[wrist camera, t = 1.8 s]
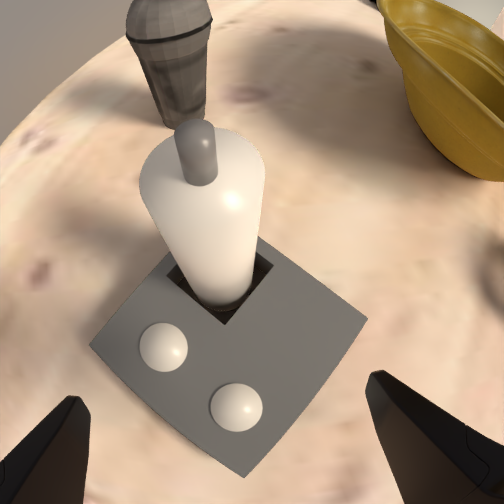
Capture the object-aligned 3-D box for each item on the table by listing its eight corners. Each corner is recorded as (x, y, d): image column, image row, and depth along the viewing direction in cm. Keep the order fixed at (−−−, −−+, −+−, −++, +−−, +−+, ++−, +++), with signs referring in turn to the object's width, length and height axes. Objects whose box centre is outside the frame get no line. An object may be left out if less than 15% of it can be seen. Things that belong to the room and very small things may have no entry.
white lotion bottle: (226, 323, 22) (196, 227, 7) (181, 286, 23) (96, 148, 8) (262, 278, 23) (299, 126, 9) (218, 245, 24) (194, 74, 9)
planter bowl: (468, 297, 23) (573, 244, 11) (297, 72, 33) (313, -20, 21) (552, 196, 30) (599, 154, 17) (437, 58, 40) (461, 6, 27)
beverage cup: (146, 106, 30) (107, -53, 11) (207, 88, 31) (197, -72, 13) (157, 148, 28) (105, -45, 9) (227, 127, 29) (223, -67, 10)
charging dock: (243, 464, 18) (244, 479, 15) (106, 348, 21) (87, 344, 18) (353, 324, 22) (369, 318, 19) (217, 222, 25) (214, 203, 22)
